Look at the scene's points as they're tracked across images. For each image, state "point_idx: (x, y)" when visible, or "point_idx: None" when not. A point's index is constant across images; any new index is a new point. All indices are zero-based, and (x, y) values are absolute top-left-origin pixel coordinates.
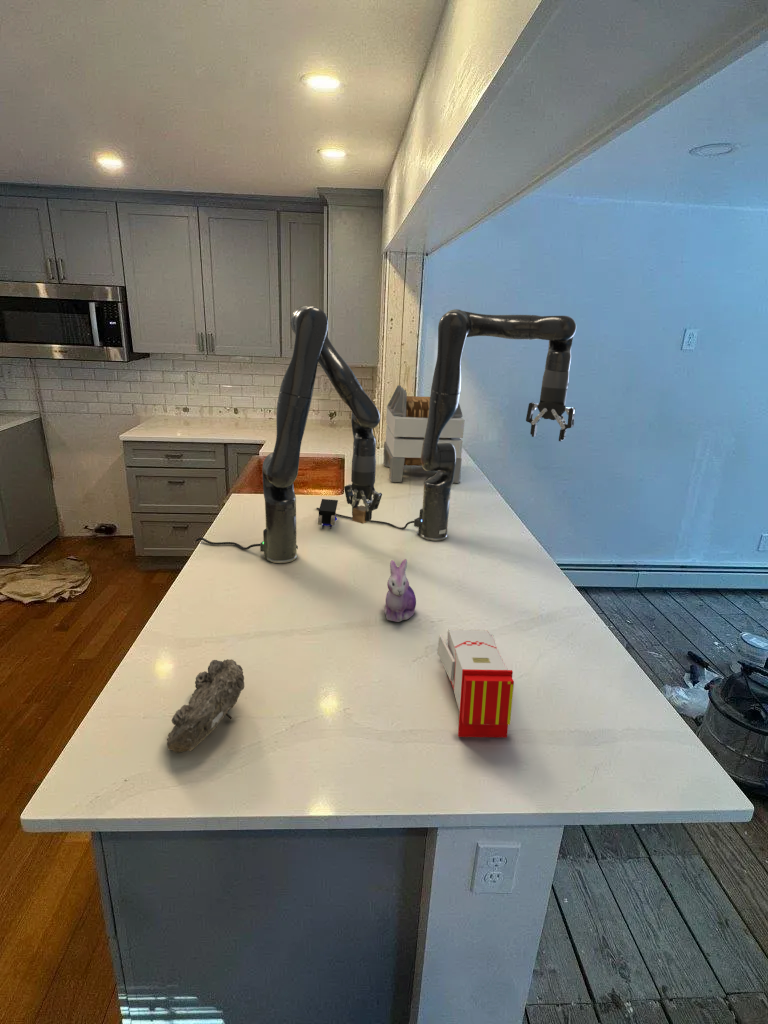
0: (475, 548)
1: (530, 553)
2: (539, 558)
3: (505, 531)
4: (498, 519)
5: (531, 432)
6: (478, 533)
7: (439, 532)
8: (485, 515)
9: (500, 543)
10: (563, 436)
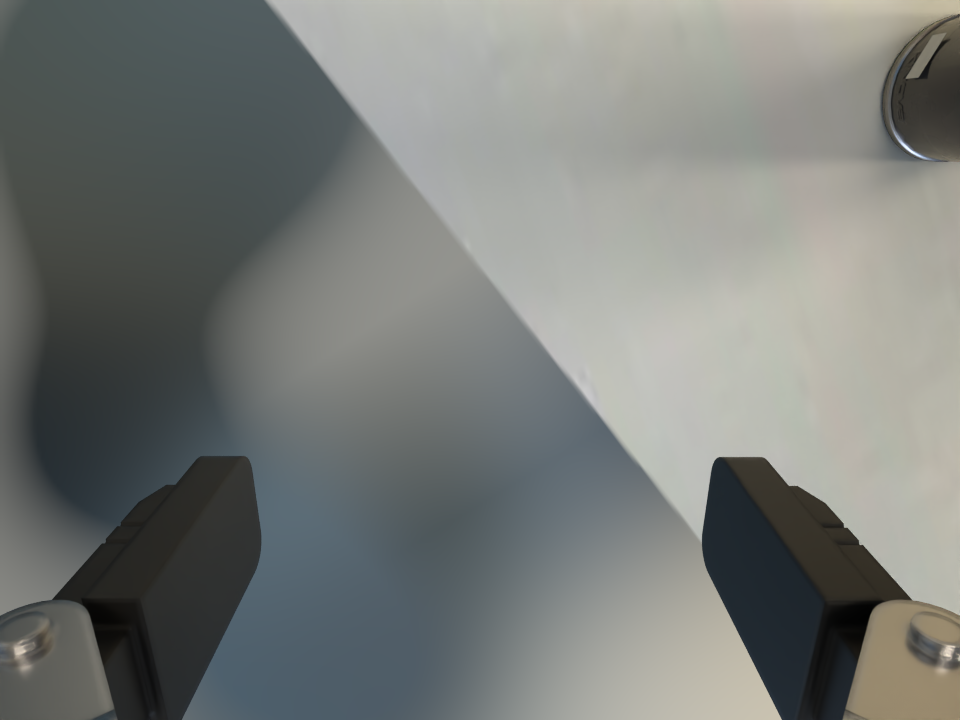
0: (714, 86)
1: (480, 206)
2: (427, 177)
3: (658, 375)
4: None
5: (807, 507)
6: (759, 274)
7: (938, 36)
8: None
9: (632, 227)
10: (135, 523)
